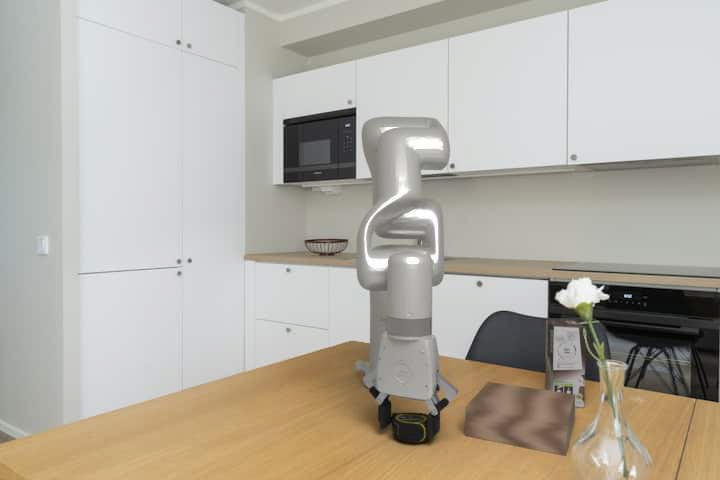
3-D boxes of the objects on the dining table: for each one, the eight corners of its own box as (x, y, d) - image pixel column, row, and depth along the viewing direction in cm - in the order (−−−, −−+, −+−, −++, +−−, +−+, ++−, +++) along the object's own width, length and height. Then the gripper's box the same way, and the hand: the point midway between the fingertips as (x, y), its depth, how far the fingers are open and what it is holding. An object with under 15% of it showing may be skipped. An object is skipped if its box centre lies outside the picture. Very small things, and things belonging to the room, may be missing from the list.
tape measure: (429, 431, 88) (430, 409, 88) (434, 447, 81) (435, 424, 81) (390, 430, 88) (391, 409, 88) (392, 447, 81) (392, 424, 81)
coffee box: (585, 408, 100) (587, 327, 99) (551, 405, 101) (552, 325, 101) (575, 393, 109) (577, 319, 108) (544, 391, 110) (545, 317, 110)
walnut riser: (465, 435, 86) (465, 406, 86) (487, 406, 100) (488, 381, 100) (565, 455, 79) (566, 424, 78) (574, 421, 93) (575, 394, 93)
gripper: (352, 325, 85) (352, 429, 85) (453, 336, 77) (452, 450, 77) (372, 318, 91) (371, 414, 92) (466, 328, 83) (465, 433, 84)
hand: (408, 430), depth 84 cm, fingers closed on tape measure, 7 cm apart
